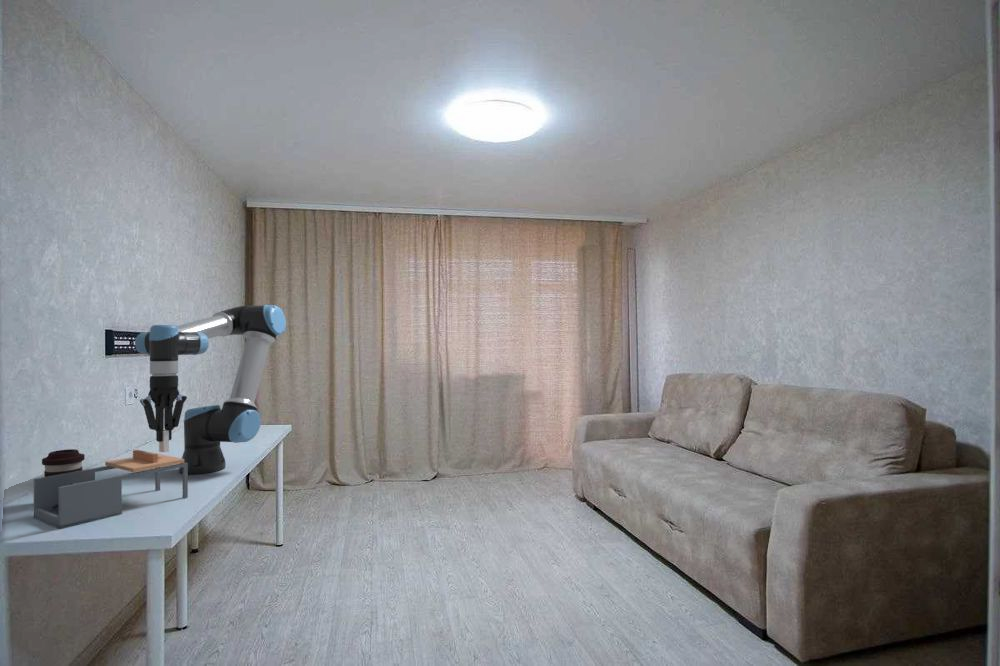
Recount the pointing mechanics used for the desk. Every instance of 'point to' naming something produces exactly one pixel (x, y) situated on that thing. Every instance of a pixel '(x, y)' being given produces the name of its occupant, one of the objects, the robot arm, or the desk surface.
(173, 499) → the desk surface
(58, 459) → the coffee cup
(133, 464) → the lid
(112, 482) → the housing
